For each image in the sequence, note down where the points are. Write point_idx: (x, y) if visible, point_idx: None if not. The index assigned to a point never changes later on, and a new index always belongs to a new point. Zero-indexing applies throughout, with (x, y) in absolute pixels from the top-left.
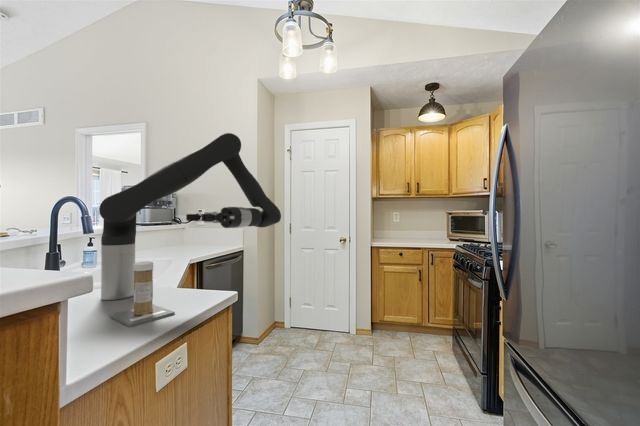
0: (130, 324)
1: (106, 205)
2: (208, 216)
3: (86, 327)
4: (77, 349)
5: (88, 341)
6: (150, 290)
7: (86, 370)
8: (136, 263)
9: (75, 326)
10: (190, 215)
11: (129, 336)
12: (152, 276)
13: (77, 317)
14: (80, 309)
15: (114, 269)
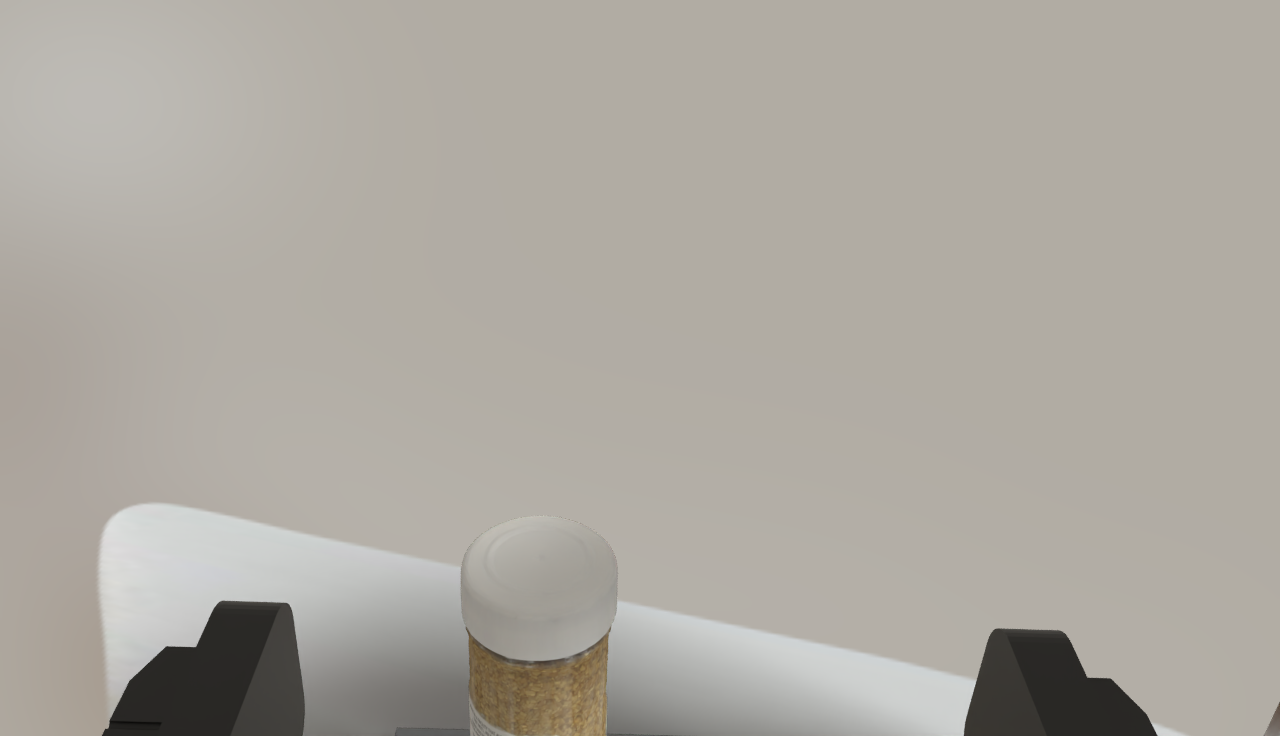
0: (396, 732)
1: None
2: (120, 730)
3: (612, 638)
4: (349, 552)
5: (397, 591)
6: None
7: (125, 521)
8: (551, 524)
9: (677, 619)
10: (1017, 708)
11: None
12: (500, 702)
13: (848, 663)
14: None
15: (1270, 724)
